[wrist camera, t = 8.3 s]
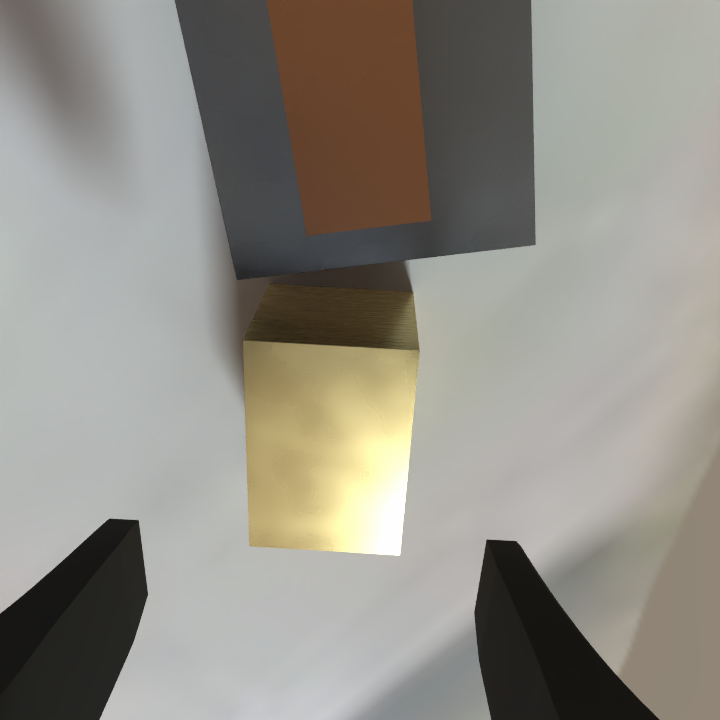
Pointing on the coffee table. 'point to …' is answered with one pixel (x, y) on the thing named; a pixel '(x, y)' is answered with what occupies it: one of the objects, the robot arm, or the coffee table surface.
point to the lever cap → (329, 417)
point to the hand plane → (365, 127)
